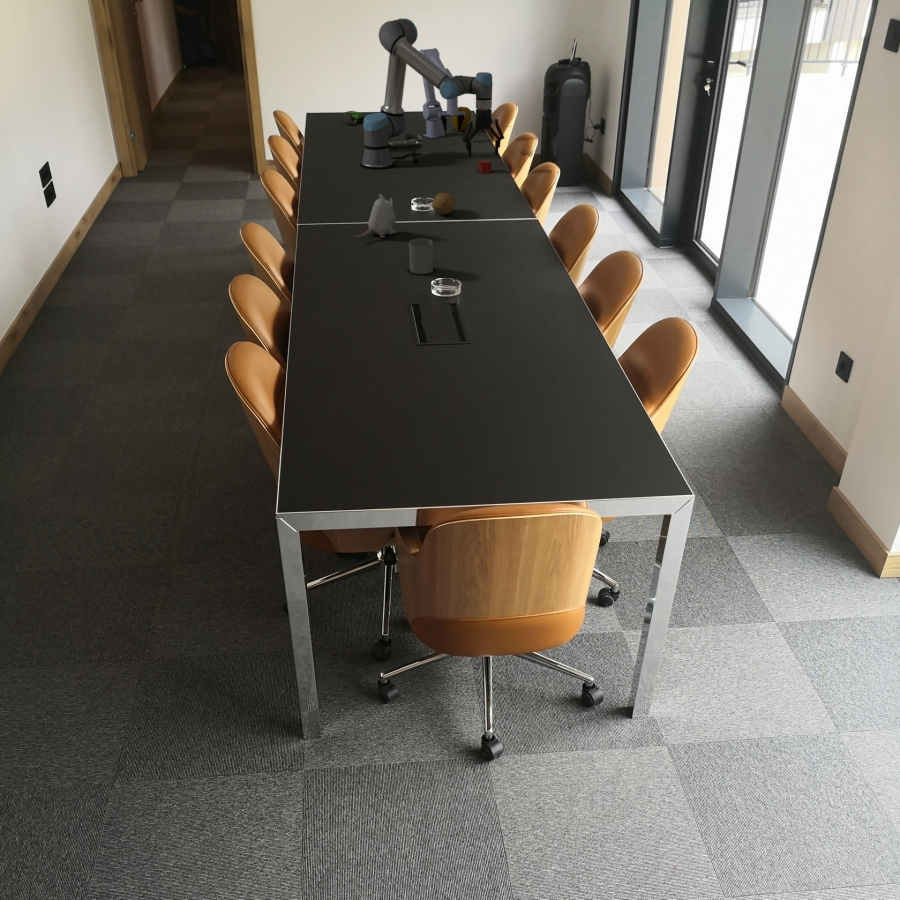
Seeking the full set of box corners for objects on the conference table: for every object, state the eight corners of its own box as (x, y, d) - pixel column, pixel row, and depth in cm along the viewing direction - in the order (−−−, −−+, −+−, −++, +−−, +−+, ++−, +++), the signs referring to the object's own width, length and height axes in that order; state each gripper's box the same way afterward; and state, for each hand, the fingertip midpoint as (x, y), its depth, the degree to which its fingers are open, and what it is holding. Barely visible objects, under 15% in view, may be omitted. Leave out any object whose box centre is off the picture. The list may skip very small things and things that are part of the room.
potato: (453, 208, 369) (453, 189, 365) (456, 218, 357) (456, 199, 353) (431, 208, 368) (430, 189, 364) (432, 218, 356) (432, 199, 352)
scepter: (393, 108, 508) (341, 106, 505) (392, 121, 500) (340, 119, 498) (392, 117, 512) (341, 115, 510) (392, 130, 505) (341, 128, 503)
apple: (471, 132, 486) (471, 108, 479) (451, 132, 486) (451, 108, 479) (470, 128, 495) (471, 104, 488) (452, 128, 495) (452, 104, 488)
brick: (478, 170, 420) (478, 160, 417) (487, 169, 421) (487, 159, 418) (481, 173, 416) (481, 163, 413) (491, 172, 417) (491, 162, 414)
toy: (402, 233, 342) (401, 194, 333) (358, 248, 327) (355, 208, 319) (387, 227, 347) (385, 190, 339) (342, 242, 332) (339, 203, 324)
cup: (409, 265, 311) (408, 238, 306) (432, 265, 312) (431, 238, 307) (410, 274, 304) (409, 246, 299) (433, 273, 305) (433, 246, 299)
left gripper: (460, 112, 396) (460, 159, 408) (511, 108, 402) (510, 155, 413) (455, 108, 402) (455, 155, 414) (506, 105, 408) (505, 151, 420)
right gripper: (441, 106, 450) (441, 133, 457) (467, 104, 454) (467, 131, 461) (437, 103, 456) (437, 130, 463) (463, 101, 459) (463, 128, 467)
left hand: (483, 155), depth 414 cm, fingers open, 13 cm apart
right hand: (452, 130), depth 463 cm, fingers open, 7 cm apart
